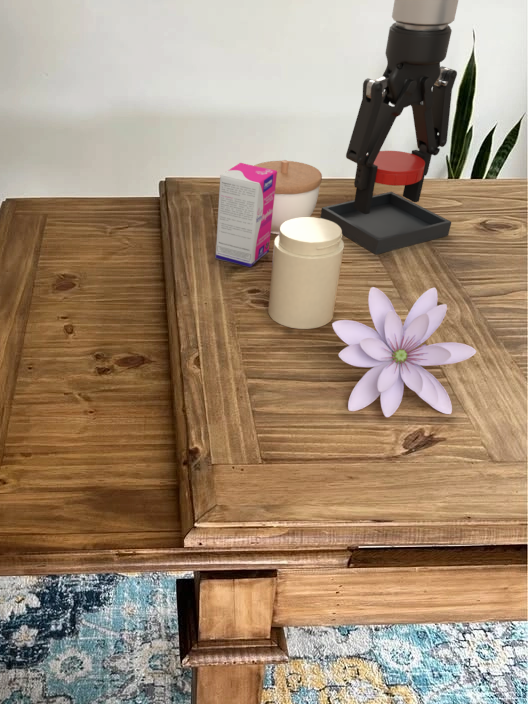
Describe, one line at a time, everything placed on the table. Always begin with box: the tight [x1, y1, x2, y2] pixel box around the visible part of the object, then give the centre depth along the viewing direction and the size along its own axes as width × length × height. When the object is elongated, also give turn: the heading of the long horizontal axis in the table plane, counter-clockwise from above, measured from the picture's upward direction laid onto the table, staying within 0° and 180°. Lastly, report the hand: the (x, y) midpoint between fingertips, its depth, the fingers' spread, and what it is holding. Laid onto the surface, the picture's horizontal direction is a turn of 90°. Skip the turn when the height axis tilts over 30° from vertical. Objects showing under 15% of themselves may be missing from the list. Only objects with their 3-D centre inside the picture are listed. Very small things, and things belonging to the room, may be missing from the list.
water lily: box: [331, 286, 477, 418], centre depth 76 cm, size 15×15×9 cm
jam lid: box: [367, 150, 425, 186], centre depth 103 cm, size 8×8×2 cm
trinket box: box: [253, 159, 323, 235], centre depth 106 cm, size 11×11×9 cm
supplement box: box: [214, 162, 277, 268], centre depth 98 cm, size 6×6×12 cm
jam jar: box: [267, 216, 345, 330], centre depth 87 cm, size 8×8×11 cm
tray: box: [320, 191, 452, 255], centre depth 108 cm, size 13×13×2 cm
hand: (386, 204), depth 106 cm, fingers closed on jam lid, 8 cm apart
